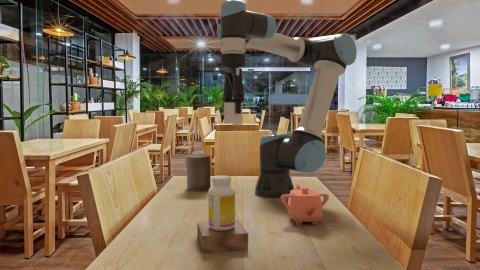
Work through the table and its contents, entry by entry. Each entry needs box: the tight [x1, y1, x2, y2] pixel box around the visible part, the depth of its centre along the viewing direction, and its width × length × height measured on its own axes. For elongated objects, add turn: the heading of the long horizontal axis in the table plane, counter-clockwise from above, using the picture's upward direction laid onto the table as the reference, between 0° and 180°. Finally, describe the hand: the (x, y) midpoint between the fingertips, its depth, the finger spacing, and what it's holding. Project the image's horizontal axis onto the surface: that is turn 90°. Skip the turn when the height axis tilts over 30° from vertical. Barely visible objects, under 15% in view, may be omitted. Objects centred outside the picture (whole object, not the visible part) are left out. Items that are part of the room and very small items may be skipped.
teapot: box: [280, 183, 330, 226], centre depth 118 cm, size 14×12×10 cm
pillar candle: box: [186, 152, 212, 192], centre depth 161 cm, size 10×10×15 cm
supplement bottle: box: [207, 174, 236, 231], centre depth 99 cm, size 7×7×13 cm
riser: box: [196, 219, 249, 254], centre depth 100 cm, size 11×11×4 cm
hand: (232, 123), depth 122 cm, fingers open, 13 cm apart
